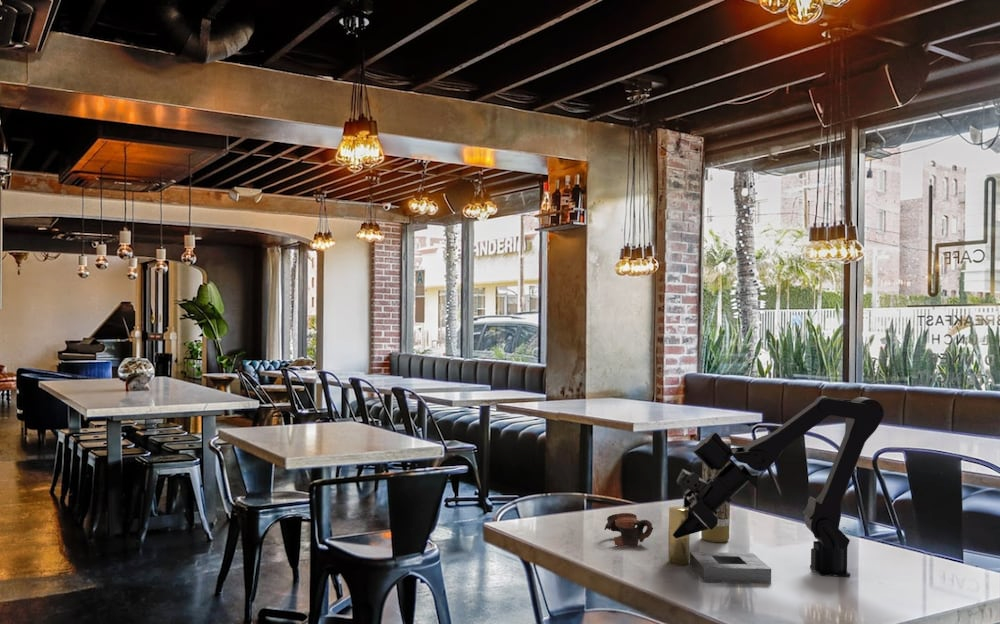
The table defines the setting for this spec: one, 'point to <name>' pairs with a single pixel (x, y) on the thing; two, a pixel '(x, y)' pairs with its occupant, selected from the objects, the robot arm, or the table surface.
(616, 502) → the table surface
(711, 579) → the jig plate
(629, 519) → the pottery mug
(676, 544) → the brass cylinder
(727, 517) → the bark covered log
